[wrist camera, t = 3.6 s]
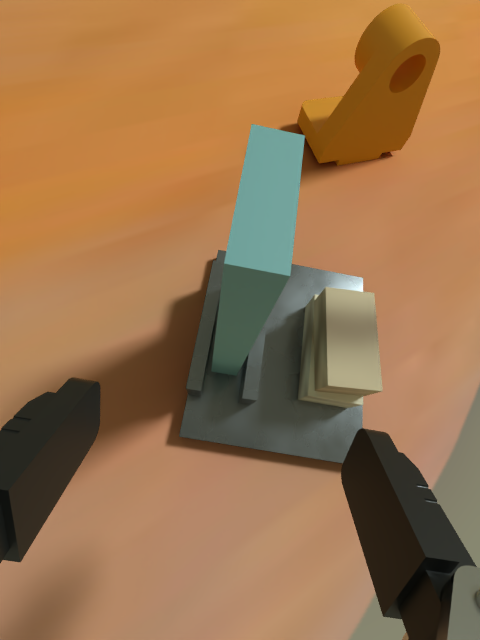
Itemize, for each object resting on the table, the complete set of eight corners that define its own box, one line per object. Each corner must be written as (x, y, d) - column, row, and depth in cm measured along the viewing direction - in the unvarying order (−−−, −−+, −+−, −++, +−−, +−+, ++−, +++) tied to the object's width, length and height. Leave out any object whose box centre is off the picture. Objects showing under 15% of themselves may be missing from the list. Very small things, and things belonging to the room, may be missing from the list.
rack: (354, 465, 24) (384, 470, 20) (180, 436, 23) (175, 436, 19) (356, 283, 30) (380, 260, 26) (217, 257, 29) (220, 229, 25)
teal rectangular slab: (236, 375, 24) (290, 276, 9) (211, 371, 24) (224, 263, 9) (247, 306, 26) (305, 135, 11) (224, 302, 26) (251, 124, 11)
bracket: (369, 113, 39) (436, -16, 28) (396, 155, 37) (480, 33, 26) (292, 124, 37) (331, -12, 26) (316, 169, 35) (370, 42, 23)
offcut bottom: (347, 408, 24) (363, 405, 22) (297, 399, 24) (308, 395, 22) (349, 314, 27) (363, 303, 25) (305, 306, 27) (315, 294, 25)
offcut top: (363, 395, 22) (382, 391, 20) (314, 391, 22) (327, 385, 19) (358, 306, 25) (374, 292, 22) (314, 301, 24) (325, 286, 22)
